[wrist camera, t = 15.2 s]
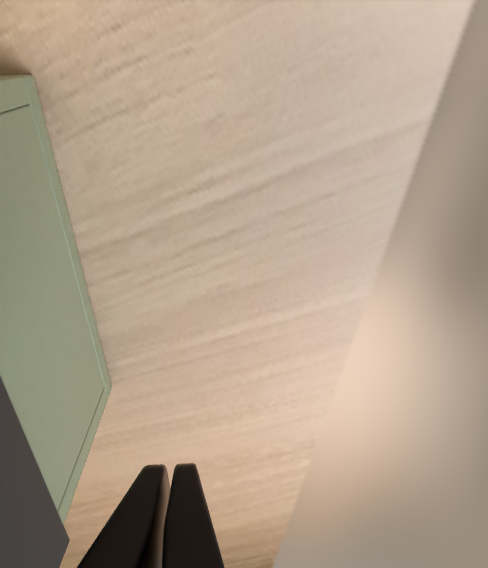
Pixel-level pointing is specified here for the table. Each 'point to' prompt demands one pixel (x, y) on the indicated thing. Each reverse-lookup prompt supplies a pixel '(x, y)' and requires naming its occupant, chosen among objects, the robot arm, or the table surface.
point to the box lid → (25, 501)
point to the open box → (44, 301)
